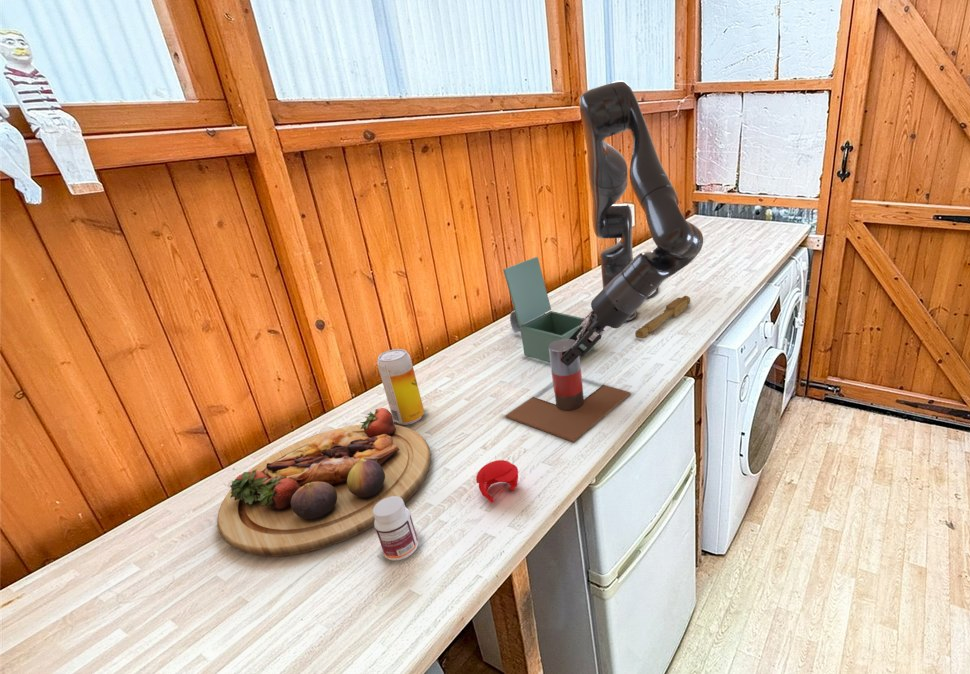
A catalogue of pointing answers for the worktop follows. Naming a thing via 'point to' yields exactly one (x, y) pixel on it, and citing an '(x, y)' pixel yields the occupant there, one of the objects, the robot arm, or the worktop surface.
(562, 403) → the tin
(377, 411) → the wooden plate
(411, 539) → the pill bottle
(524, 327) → the bin
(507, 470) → the cap
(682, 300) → the tap handle
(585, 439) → the worktop surface
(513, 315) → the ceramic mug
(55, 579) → the worktop surface
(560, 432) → the mat
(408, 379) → the beer can
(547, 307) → the bin lid
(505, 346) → the worktop surface
